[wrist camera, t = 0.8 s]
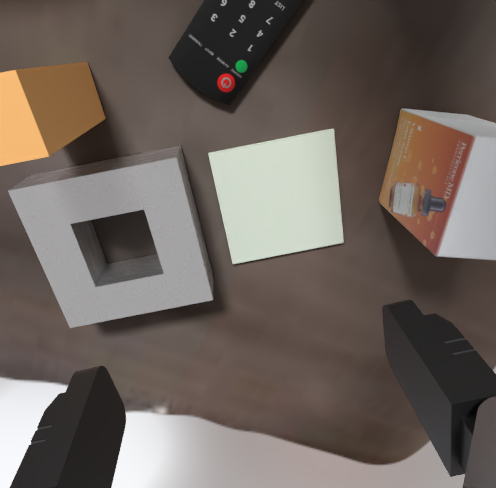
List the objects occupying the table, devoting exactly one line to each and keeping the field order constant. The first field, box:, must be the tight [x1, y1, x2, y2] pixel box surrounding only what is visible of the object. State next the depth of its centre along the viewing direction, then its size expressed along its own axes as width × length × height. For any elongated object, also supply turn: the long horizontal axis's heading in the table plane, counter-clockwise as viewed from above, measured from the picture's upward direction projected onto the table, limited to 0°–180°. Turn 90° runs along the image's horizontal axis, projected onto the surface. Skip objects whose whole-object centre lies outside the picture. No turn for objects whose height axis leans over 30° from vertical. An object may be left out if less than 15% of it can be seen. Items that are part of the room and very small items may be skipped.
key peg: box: [0, 62, 106, 166], centre depth 25 cm, size 4×4×12 cm
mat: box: [208, 128, 344, 264], centre depth 35 cm, size 10×10×1 cm
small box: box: [379, 109, 496, 260], centre depth 30 cm, size 8×6×10 cm
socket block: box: [8, 145, 213, 328], centre depth 33 cm, size 12×12×4 cm
